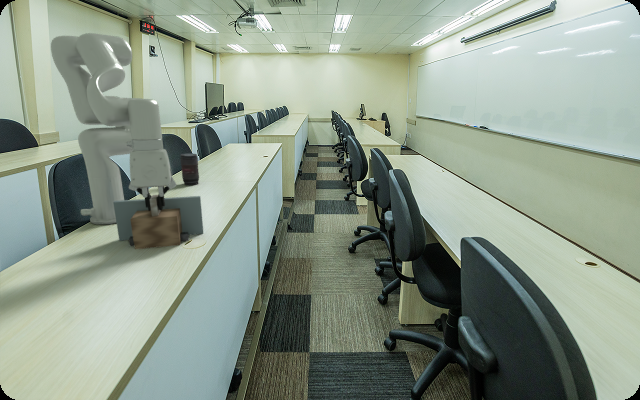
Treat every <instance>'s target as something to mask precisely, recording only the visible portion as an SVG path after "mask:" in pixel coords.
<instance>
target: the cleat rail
mask: <svg viewBox="0 0 640 400" xmlns="http://www.w3.org/2000/svg"><path fill="white" fill-rule="evenodd" d="M180 240H181V243H182V242H189V240H190V235H189V233H188V232H181V233H180ZM128 243H129V247H135V246H134V241H133V236H131V237H130V238H129V240H128Z"/></svg>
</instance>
